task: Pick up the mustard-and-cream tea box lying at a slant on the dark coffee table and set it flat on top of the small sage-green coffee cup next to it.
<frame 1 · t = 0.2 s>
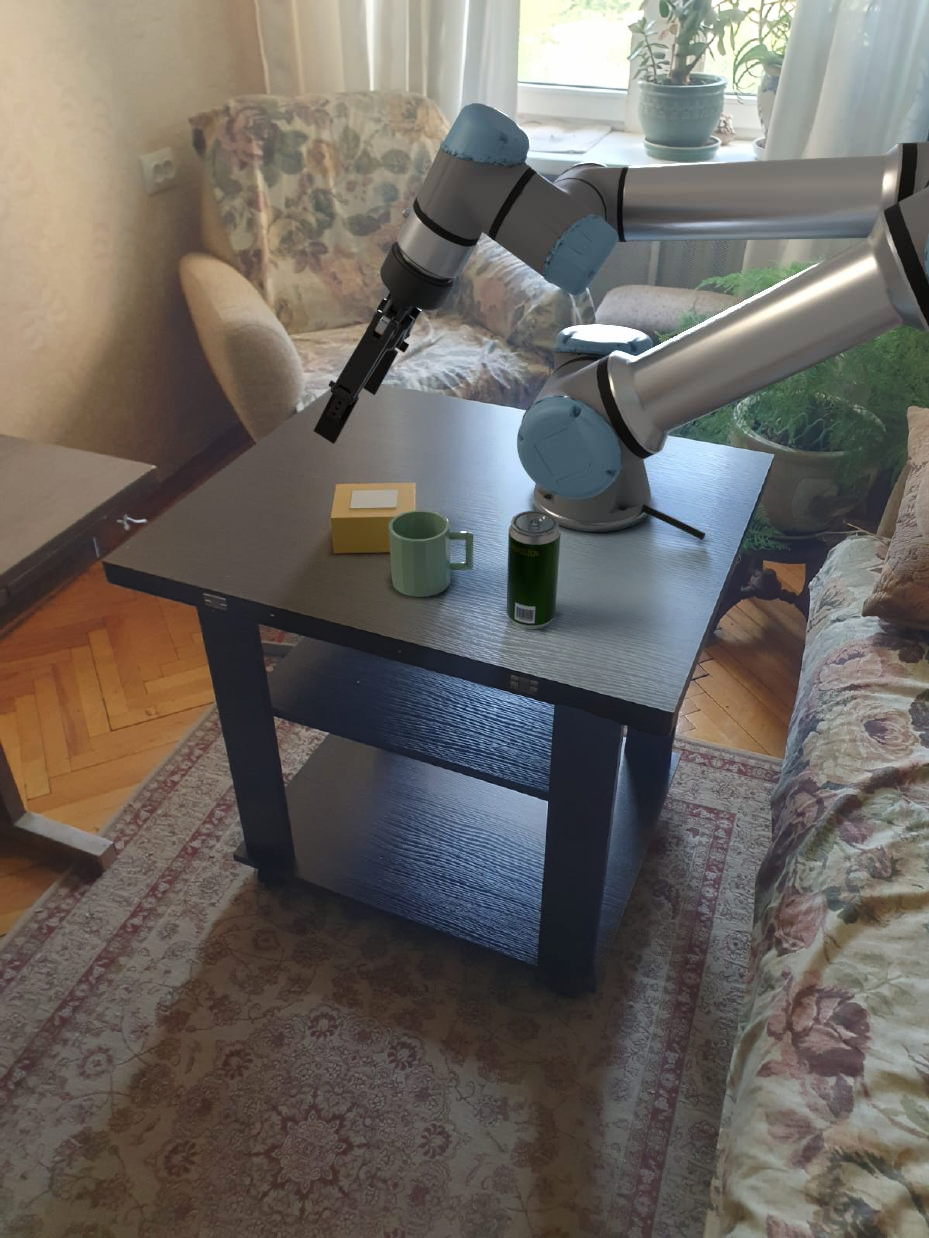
hand: (346, 411, 111), 15 cm above the table, tool tilted 30°, fingers open, 13 cm apart
tea packet: (376, 534, 118), on the table
beer can: (530, 618, 103), on the table
cup: (421, 580, 109), on the table
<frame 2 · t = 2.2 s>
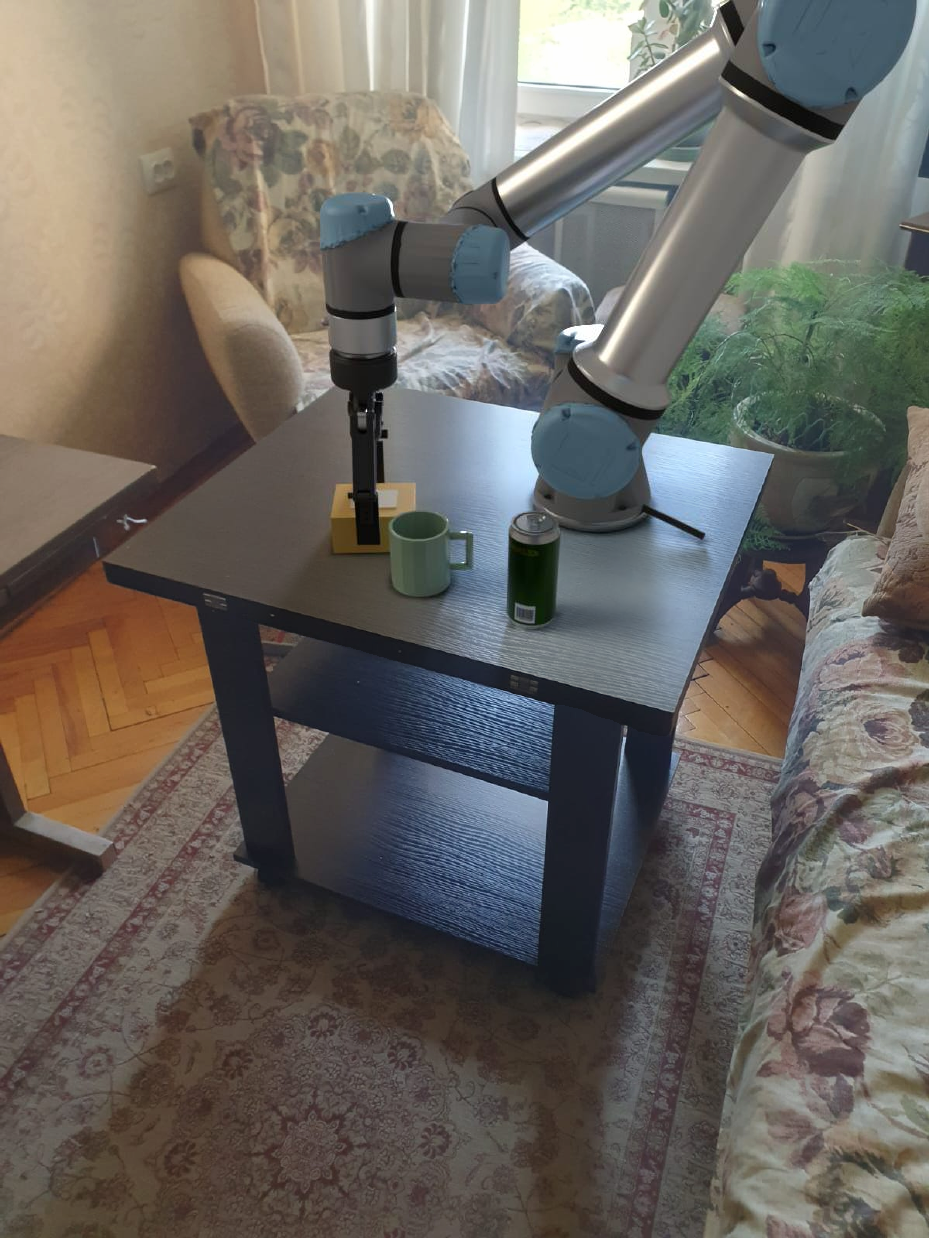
hand: (371, 514, 116), 3 cm above the table, tool pointing down, fingers open, 13 cm apart
nothing on the table moved.
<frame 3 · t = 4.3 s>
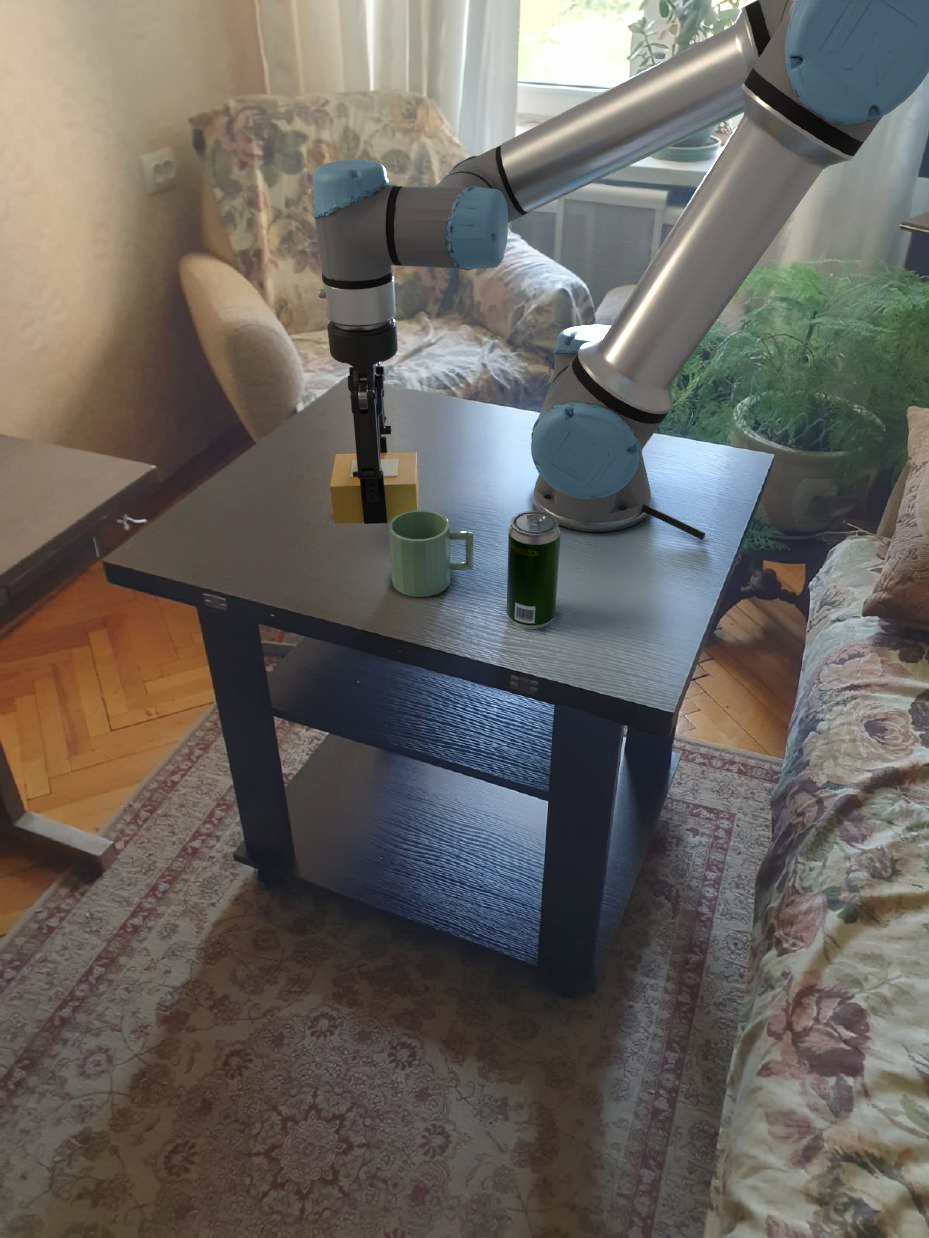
hand: (377, 503, 115), 5 cm above the table, tool pointing down, fingers closed on tea packet, 8 cm apart
tea packet: (377, 505, 115), point 4 cm above the table, touching gripper
everything else where it was.
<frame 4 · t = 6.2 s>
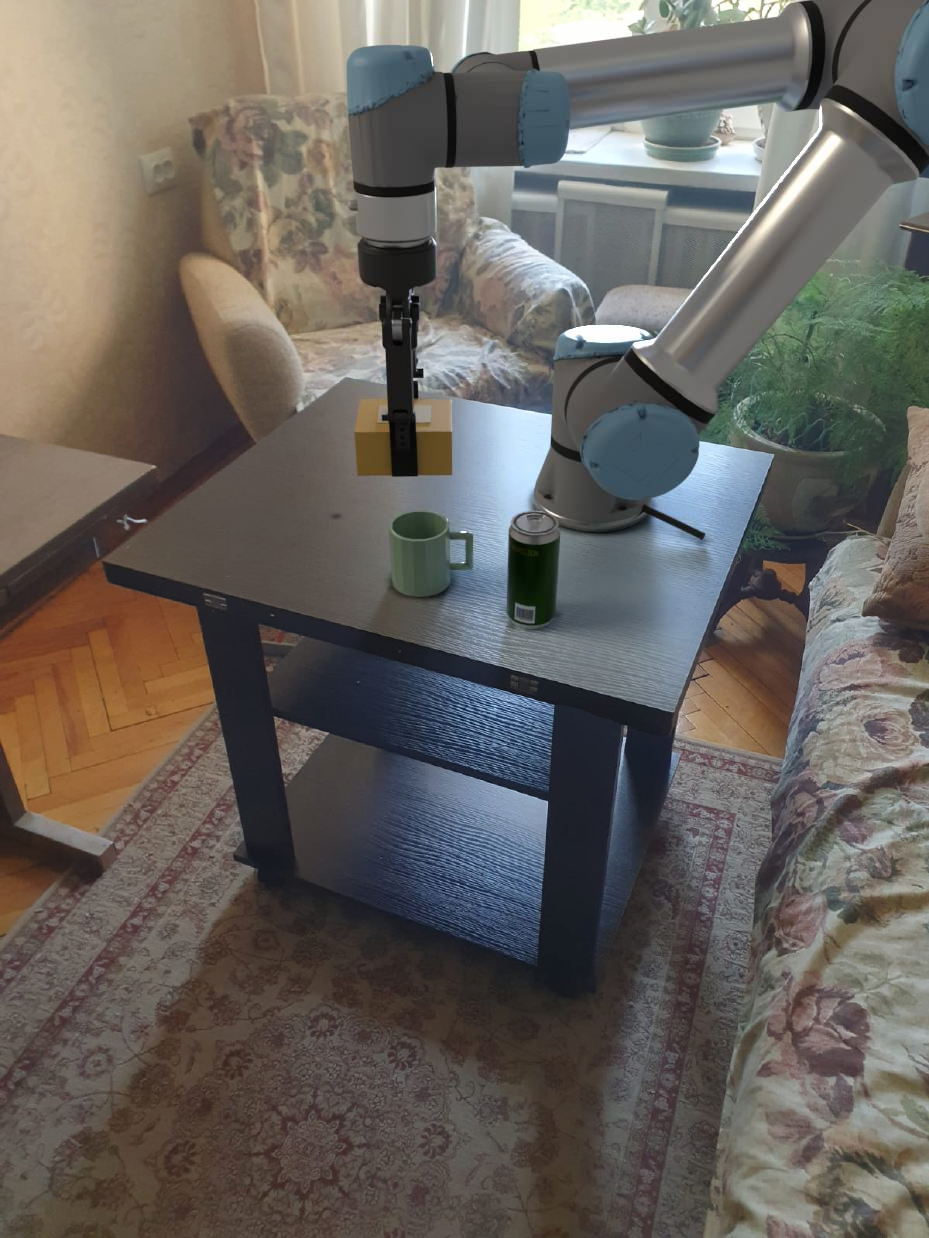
hand: (406, 455, 102), 15 cm above the table, tool pointing down, fingers closed on tea packet, 8 cm apart
tea packet: (406, 457, 102), point 15 cm above the table, touching gripper
everything else where it was.
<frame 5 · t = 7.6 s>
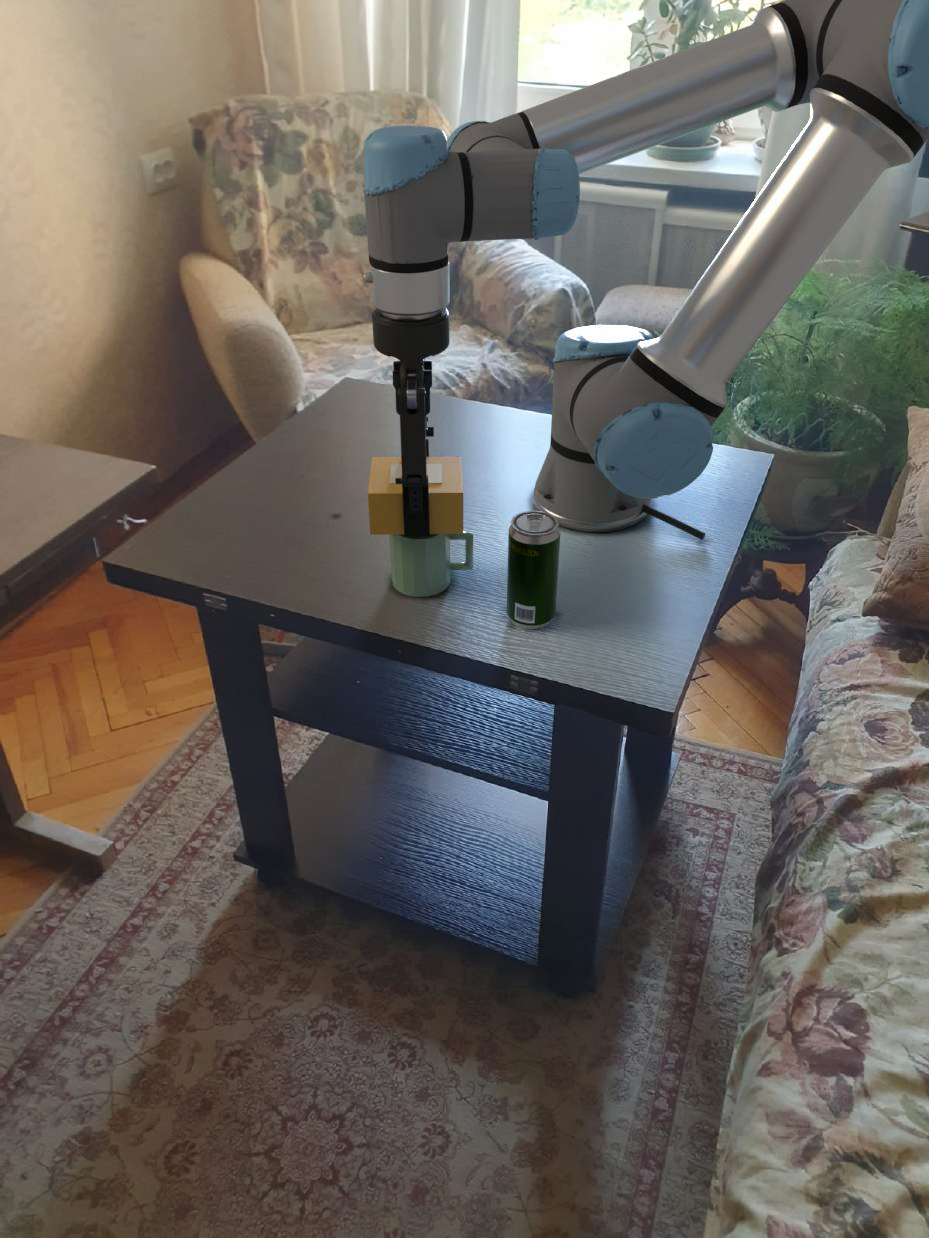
hand: (417, 512, 104), 9 cm above the table, tool pointing down, fingers closed on tea packet, 8 cm apart
tea packet: (417, 514, 104), point 9 cm above the table, touching gripper
everything else where it was.
when the fingers open (8 cm above the table, at t = 8.3 s): tea packet stays where it is, resting on cup.
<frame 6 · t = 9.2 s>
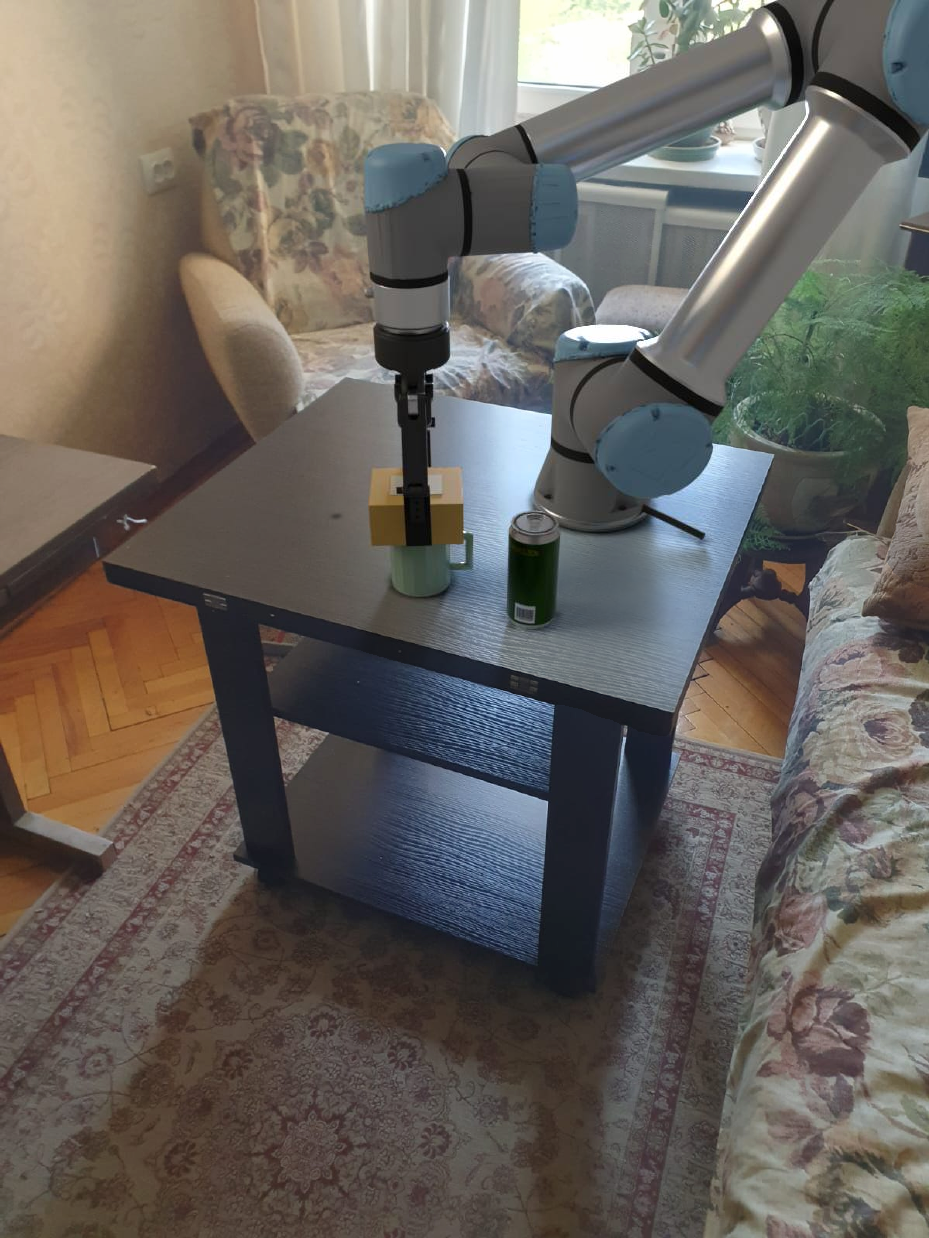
hand: (419, 512, 104), 9 cm above the table, tool pointing down, fingers open, 13 cm apart
tea packet: (418, 525, 105), point 7 cm above the table, touching cup
cup: (421, 580, 109), on the table, touching tea packet
everything else where it was.
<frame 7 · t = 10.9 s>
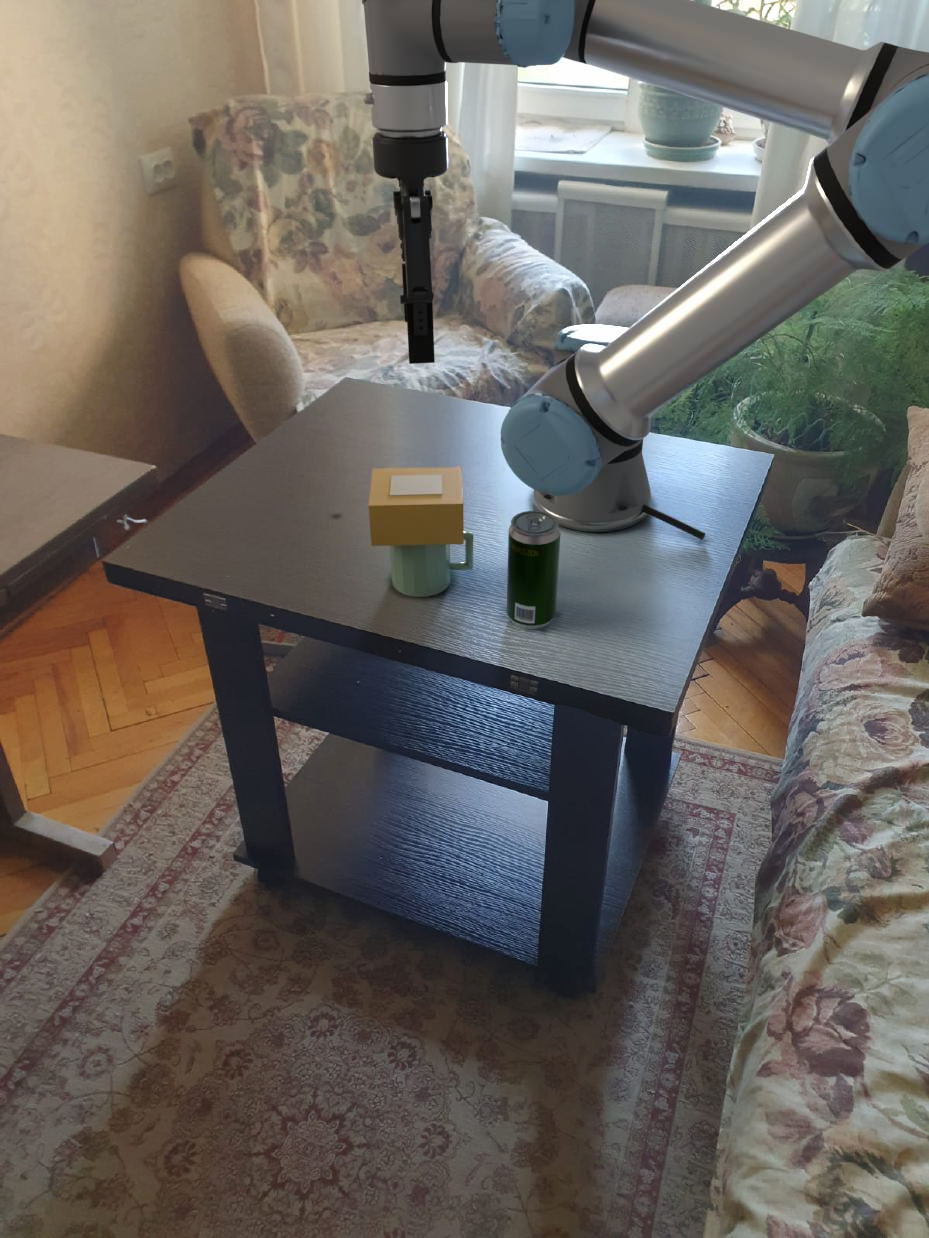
hand: (418, 340, 106), 24 cm above the table, tool pointing down, fingers open, 13 cm apart
nothing on the table moved.
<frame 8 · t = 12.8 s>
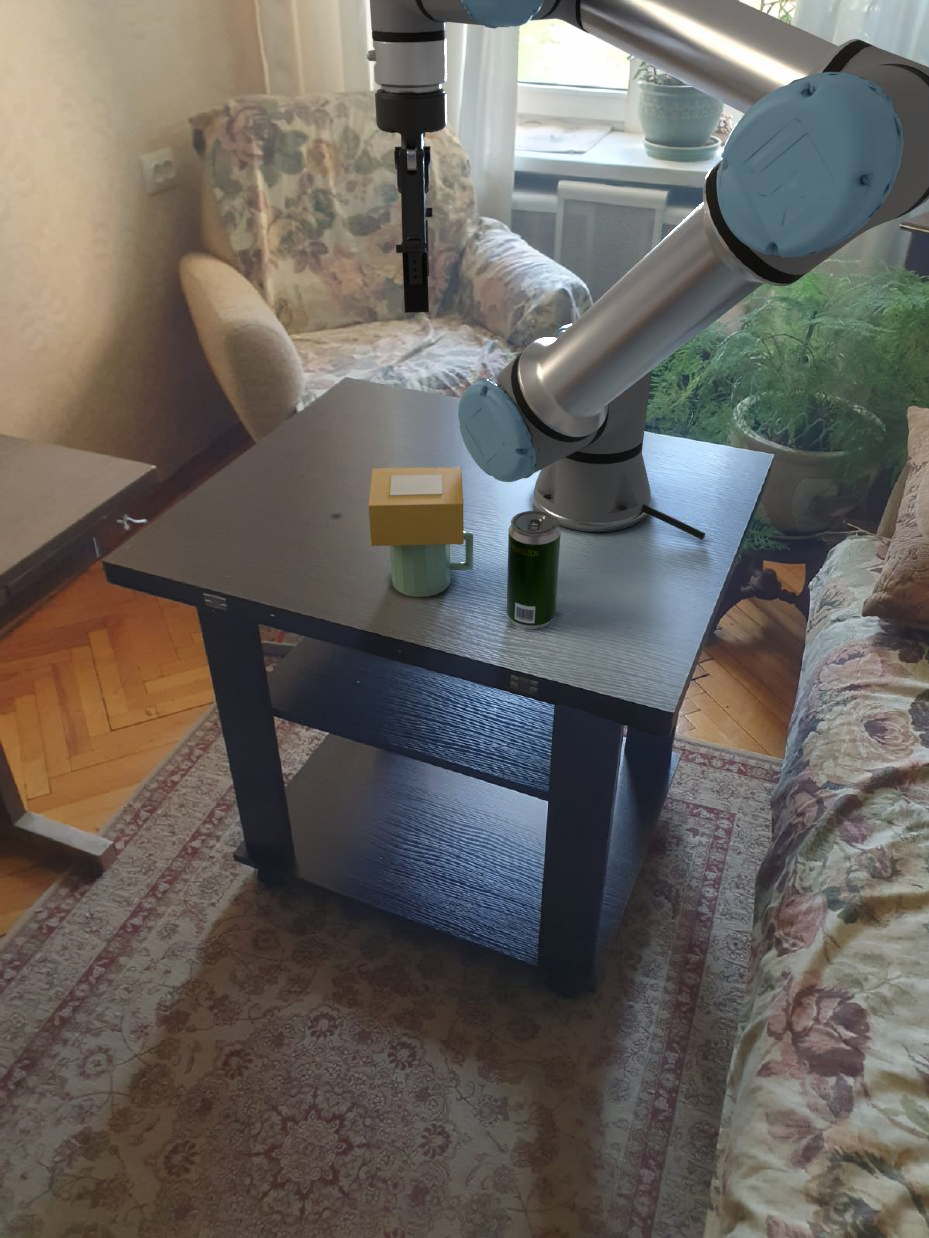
hand: (417, 293, 110), 27 cm above the table, tool pointing down, fingers open, 13 cm apart
nothing on the table moved.
at the end: tea packet 0.1 cm off-centre on the cup, point 7.5 cm above the cup's base; tea packet tilted 0°; cup tilted 0° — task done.
